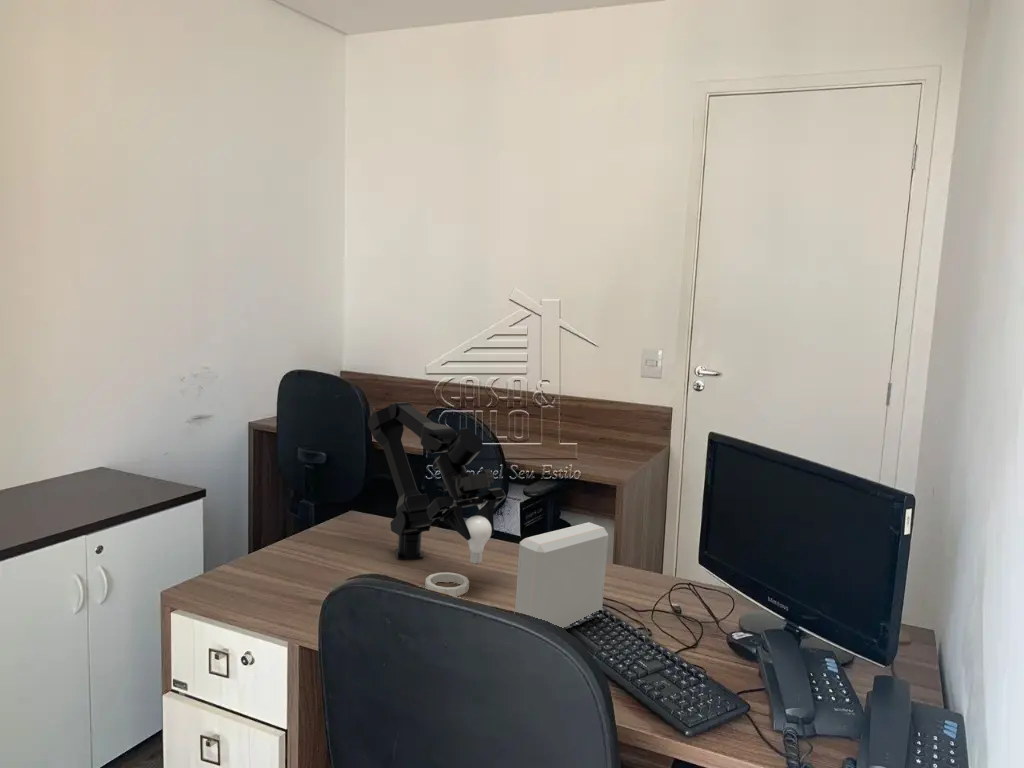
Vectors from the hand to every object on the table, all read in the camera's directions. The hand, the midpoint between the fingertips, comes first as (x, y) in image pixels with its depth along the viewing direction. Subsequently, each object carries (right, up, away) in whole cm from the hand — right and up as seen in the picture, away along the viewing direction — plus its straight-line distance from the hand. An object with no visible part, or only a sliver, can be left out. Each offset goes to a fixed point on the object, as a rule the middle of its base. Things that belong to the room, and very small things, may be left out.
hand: (481, 537), depth 166 cm
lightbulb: (-1, -6, +2) cm, 7 cm away
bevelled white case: (+16, -16, -11) cm, 25 cm away
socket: (-8, -12, +4) cm, 15 cm away
